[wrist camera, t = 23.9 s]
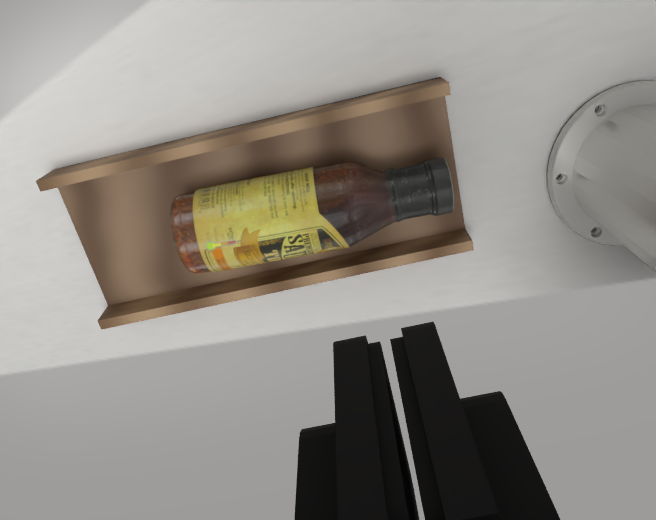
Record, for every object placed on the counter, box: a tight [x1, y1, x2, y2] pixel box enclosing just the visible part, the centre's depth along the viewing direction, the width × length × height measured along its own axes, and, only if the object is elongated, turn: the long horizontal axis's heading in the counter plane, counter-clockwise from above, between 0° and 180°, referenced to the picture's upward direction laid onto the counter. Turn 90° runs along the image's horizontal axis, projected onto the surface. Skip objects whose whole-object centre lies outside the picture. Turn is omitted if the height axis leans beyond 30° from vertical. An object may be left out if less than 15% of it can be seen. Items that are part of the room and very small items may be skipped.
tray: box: [36, 77, 474, 329], centre depth 46 cm, size 30×13×3 cm, turn 103°
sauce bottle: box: [170, 158, 454, 273], centre depth 44 cm, size 6×6×20 cm
